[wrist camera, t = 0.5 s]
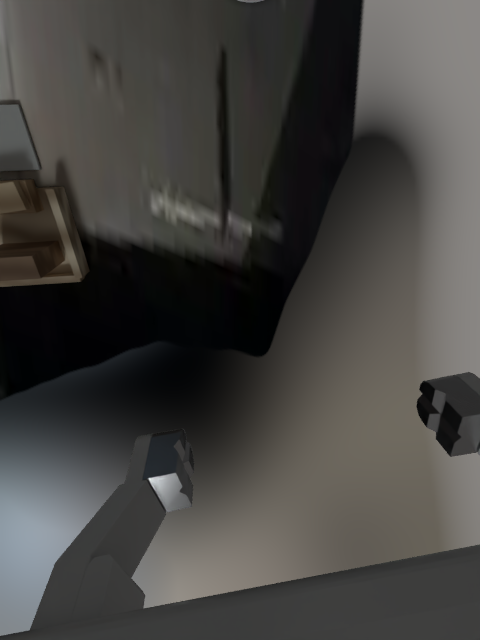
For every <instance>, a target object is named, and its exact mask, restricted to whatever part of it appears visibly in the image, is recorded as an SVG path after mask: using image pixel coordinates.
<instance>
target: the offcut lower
mask: <svg viewBox="0 0 480 640" xmlns="http://www.w3.org/2000/svg"><path fill="white" fill-rule="evenodd" d="M14 181H19V182H20V185H21V187H22V189H23V191H24V193H25V195H26V197H27V199H28V201H29V203H30V206H31V208H30V209H27V210H21V211H15V212H9V213H2V214H20V213H37V212H40V211H43V210H44V208H43V205H42V202H41V199H40V197H39V194H38V191H37V188H36V185H35V182H34V180H33V179H24V180H1V181H0V184H2V183H8V182H14Z"/></svg>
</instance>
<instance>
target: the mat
mask: <svg viewBox="0 0 480 640" xmlns="http://www.w3.org/2000/svg"><path fill="white" fill-rule="evenodd" d="M19 170H41V167H40V164H39V161H38V158H37V155H36V152H35V149H34V146H33V143H32V140H31V137H30V134H29V131H28V128H27V125H26V122H25V119H24V116H23V113H22V110H21V107H20V105H18V104H16V105H0V171H19Z"/></svg>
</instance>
